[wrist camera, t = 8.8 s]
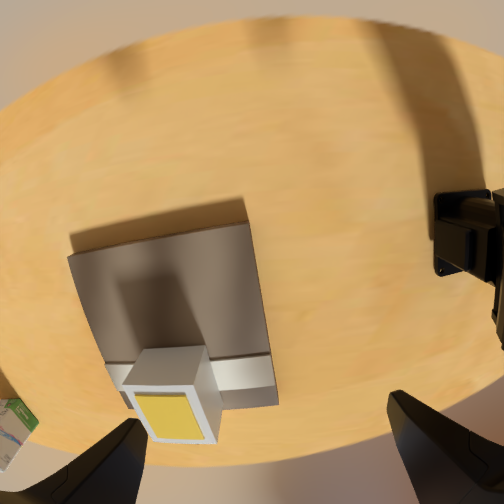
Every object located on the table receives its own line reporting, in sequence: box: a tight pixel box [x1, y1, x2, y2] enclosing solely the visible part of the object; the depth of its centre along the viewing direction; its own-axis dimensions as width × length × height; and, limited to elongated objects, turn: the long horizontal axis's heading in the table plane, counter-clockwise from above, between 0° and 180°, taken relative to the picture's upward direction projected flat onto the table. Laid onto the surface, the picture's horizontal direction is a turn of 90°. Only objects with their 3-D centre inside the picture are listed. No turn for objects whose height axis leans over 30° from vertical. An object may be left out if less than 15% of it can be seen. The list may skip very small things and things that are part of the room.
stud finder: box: [122, 345, 223, 444], centre depth 18 cm, size 5×6×5 cm
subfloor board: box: [67, 221, 279, 410], centre depth 20 cm, size 14×15×1 cm
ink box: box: [0, 399, 39, 472], centre depth 21 cm, size 8×5×12 cm, turn 112°
